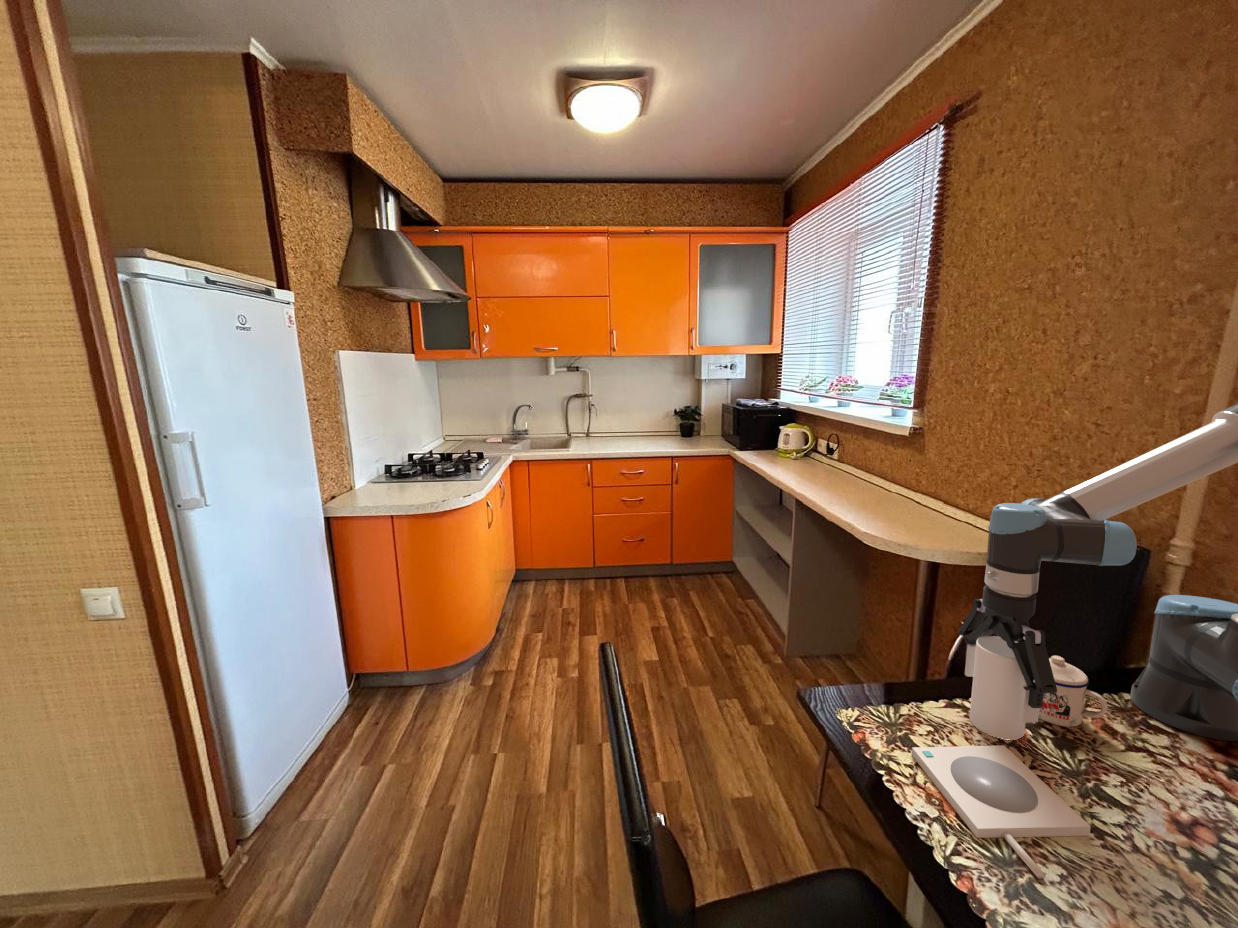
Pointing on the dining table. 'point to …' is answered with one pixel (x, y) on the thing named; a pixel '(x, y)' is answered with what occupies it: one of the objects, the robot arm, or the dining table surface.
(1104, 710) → the teacup with lid
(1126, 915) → the dining table surface
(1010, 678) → the cup
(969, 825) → the pad
